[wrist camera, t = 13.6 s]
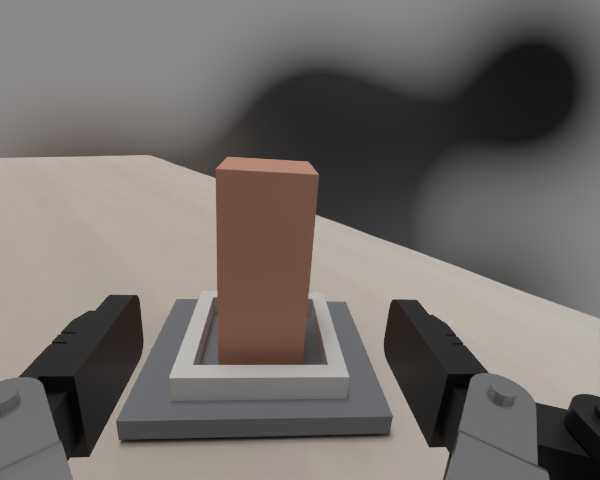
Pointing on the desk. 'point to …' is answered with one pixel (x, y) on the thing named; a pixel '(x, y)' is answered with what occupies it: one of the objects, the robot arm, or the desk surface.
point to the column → (264, 259)
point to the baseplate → (254, 382)
